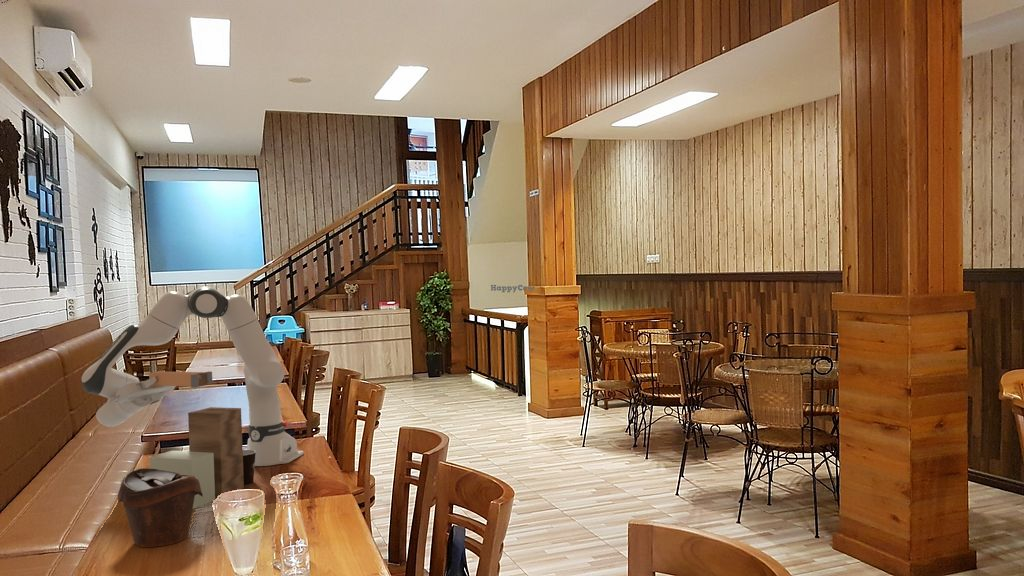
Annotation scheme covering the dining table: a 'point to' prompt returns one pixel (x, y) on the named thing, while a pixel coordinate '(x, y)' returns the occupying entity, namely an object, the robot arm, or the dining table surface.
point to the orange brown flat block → (182, 378)
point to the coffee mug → (248, 466)
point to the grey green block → (190, 470)
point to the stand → (219, 444)
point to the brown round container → (158, 505)
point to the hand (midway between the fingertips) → (163, 377)
